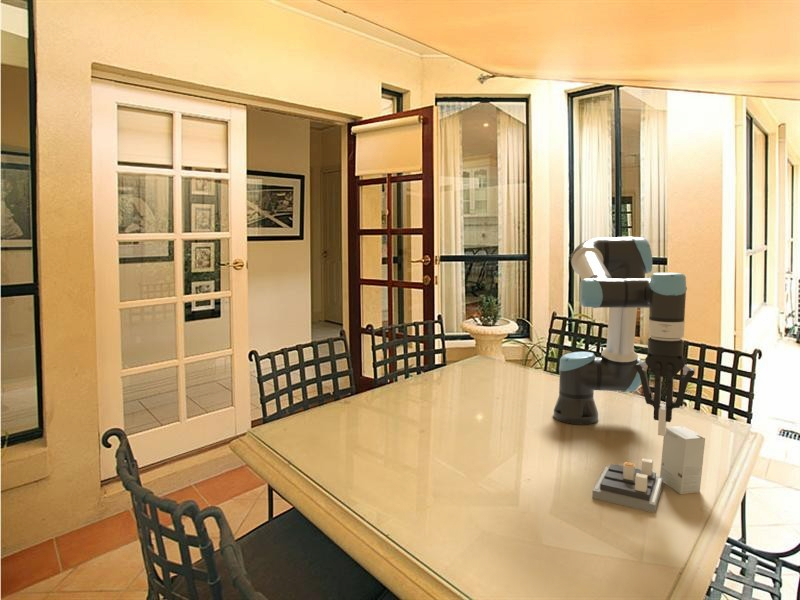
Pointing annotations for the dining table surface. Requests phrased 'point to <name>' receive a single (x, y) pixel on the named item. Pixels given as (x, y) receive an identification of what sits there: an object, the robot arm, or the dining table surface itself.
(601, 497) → the panel
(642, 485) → the block
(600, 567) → the dining table surface
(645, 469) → the block
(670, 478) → the skincare box
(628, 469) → the breaker mid
